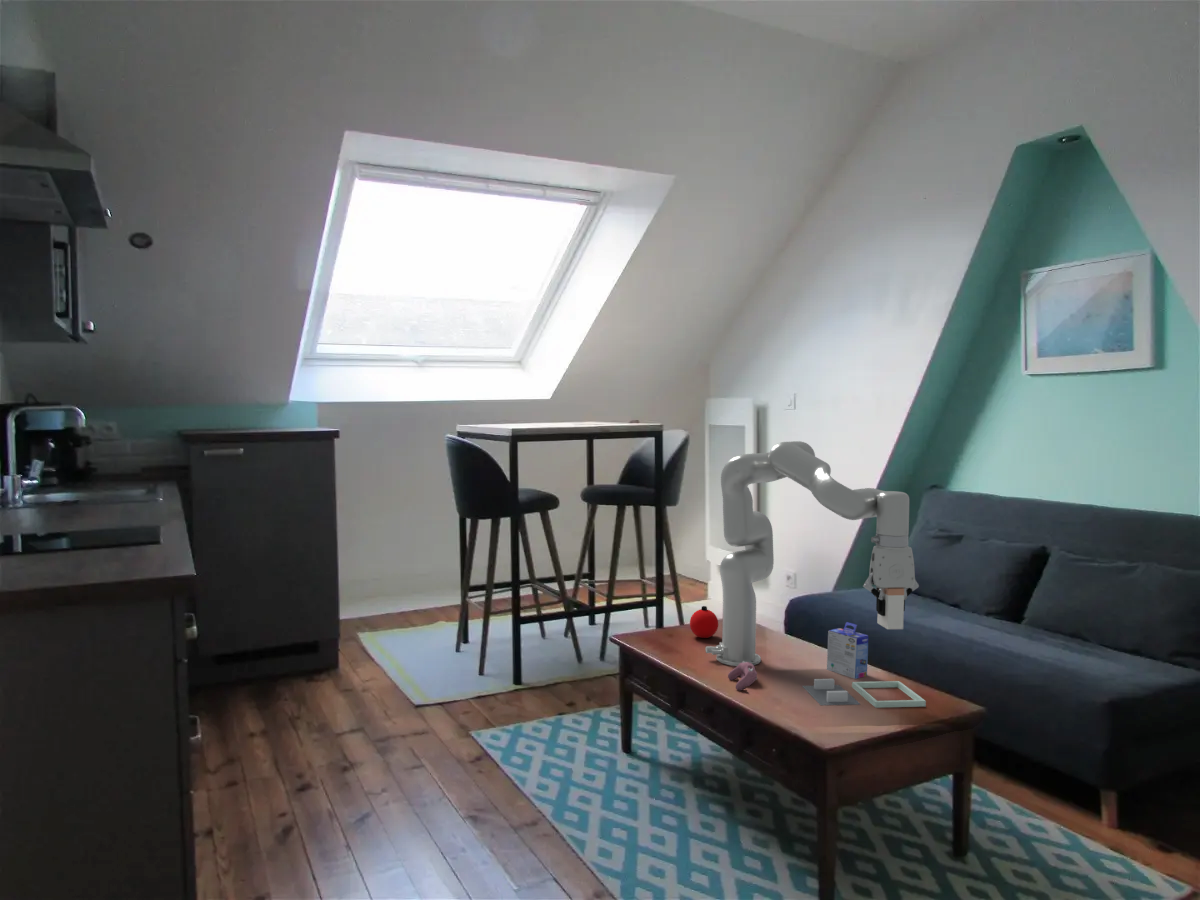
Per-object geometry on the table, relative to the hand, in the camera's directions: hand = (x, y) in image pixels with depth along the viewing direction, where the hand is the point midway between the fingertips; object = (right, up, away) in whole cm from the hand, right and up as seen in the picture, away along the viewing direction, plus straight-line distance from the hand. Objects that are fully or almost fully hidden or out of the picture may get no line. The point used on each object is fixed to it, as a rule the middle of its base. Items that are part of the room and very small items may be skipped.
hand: (890, 613), depth 209 cm
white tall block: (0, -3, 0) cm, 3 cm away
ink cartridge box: (-5, -21, +20) cm, 30 cm away
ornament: (-39, -19, +57) cm, 72 cm away
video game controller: (-35, -21, +13) cm, 43 cm away
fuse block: (-14, -22, +2) cm, 26 cm away
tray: (0, -22, +1) cm, 22 cm away
